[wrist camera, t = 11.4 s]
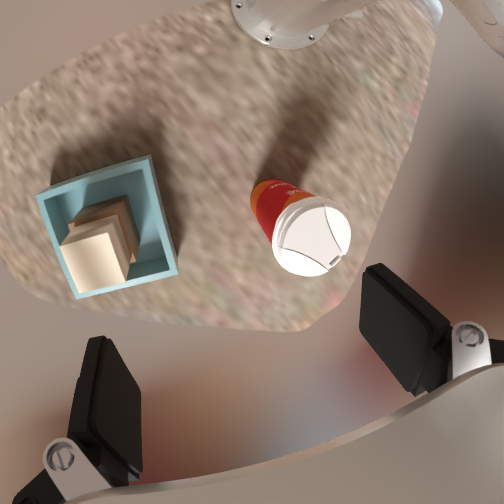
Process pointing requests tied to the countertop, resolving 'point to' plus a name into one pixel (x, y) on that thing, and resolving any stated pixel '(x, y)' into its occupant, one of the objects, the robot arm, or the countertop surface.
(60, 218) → the tote
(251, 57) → the countertop surface
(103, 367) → the robot arm
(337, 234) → the paper cup
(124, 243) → the birch block
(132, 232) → the walnut block
